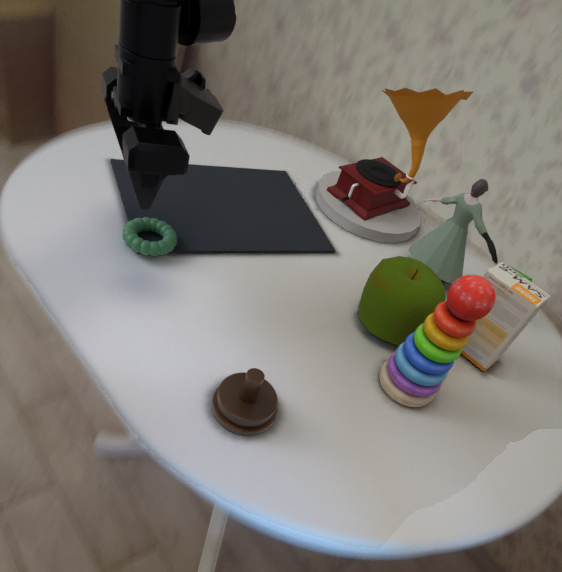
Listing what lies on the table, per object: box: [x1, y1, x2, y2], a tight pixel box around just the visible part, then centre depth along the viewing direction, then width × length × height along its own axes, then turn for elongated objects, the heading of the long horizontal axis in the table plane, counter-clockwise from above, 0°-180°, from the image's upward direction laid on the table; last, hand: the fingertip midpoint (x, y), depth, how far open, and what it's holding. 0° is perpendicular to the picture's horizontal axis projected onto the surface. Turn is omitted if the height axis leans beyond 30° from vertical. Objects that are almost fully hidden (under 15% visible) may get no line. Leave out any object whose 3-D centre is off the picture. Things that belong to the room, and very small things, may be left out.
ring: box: [122, 217, 177, 257], centre depth 72 cm, size 8×8×2 cm
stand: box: [210, 367, 279, 436], centre depth 57 cm, size 8×8×6 cm
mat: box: [110, 158, 336, 255], centre depth 85 cm, size 32×24×1 cm
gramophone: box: [315, 87, 474, 244], centre depth 88 cm, size 20×20×25 cm
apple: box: [357, 255, 447, 346], centre depth 72 cm, size 11×11×11 cm
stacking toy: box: [378, 274, 496, 408], centre depth 62 cm, size 8×8×19 cm
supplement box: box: [460, 261, 552, 372], centre depth 73 cm, size 8×5×13 cm, turn 43°
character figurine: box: [408, 178, 499, 283], centre depth 81 cm, size 16×8×18 cm, turn 42°
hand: (137, 187), depth 63 cm, fingers open, 9 cm apart
